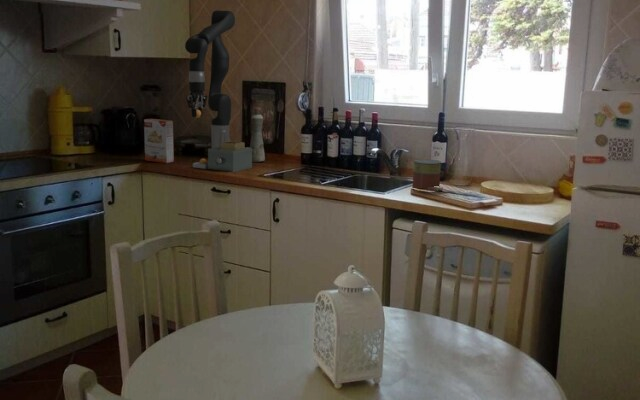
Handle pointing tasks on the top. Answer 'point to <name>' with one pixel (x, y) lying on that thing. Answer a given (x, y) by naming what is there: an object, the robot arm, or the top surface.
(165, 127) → the cracker box
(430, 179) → the canned food
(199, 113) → the bead
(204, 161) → the bead
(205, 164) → the bead dish
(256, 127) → the bottle
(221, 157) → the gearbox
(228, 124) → the robot arm
